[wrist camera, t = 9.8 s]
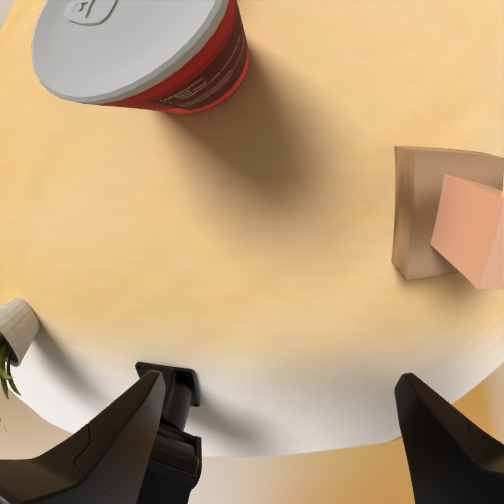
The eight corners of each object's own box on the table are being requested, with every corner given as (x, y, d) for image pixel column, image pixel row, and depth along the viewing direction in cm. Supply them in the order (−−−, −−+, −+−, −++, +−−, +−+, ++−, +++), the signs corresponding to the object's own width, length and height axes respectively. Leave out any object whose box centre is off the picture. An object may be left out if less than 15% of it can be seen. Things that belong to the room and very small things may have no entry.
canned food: (142, 25, 14) (49, -30, 4) (252, 14, 13) (236, -85, 3) (135, 119, 17) (21, 124, 7) (248, 114, 17) (222, 88, 7)
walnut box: (469, 249, 20) (490, 266, 17) (389, 258, 21) (406, 280, 18) (477, 151, 16) (503, 158, 13) (391, 145, 17) (414, 150, 14)
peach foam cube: (476, 248, 16) (522, 288, 11) (430, 244, 16) (477, 289, 11) (490, 186, 14) (545, 212, 9) (444, 173, 14) (504, 198, 9)
